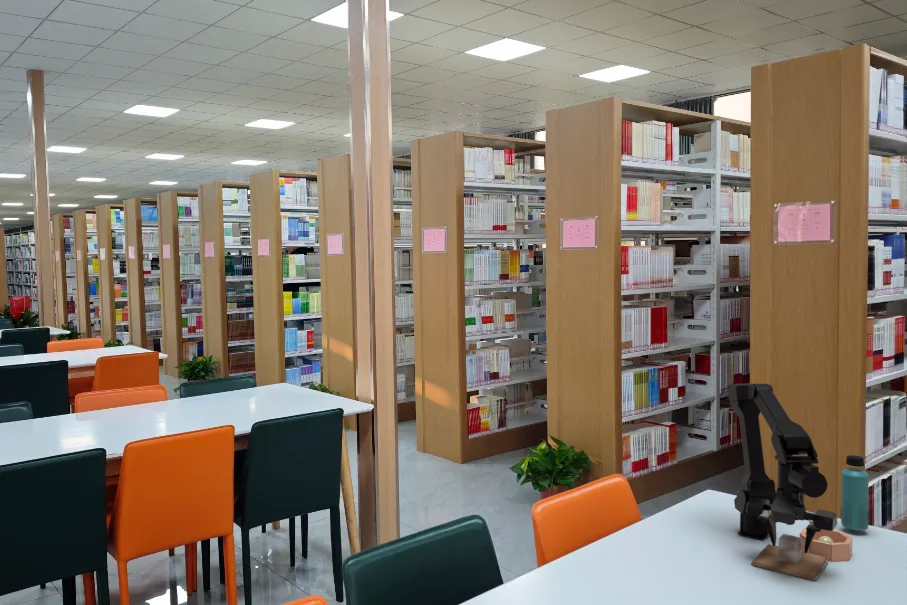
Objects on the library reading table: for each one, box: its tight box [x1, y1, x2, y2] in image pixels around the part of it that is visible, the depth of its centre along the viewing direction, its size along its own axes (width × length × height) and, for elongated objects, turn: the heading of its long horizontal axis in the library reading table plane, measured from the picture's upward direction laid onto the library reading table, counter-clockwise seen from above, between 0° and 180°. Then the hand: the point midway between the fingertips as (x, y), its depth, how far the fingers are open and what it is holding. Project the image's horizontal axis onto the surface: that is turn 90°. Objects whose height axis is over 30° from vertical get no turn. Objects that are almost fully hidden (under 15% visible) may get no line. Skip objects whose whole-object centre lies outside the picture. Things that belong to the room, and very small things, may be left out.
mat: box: [750, 560, 829, 582], centre depth 166 cm, size 14×12×1 cm
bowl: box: [799, 527, 853, 562], centre depth 173 cm, size 11×11×4 cm
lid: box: [752, 533, 827, 581], centre depth 166 cm, size 13×13×6 cm
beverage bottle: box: [840, 454, 870, 531], centre depth 185 cm, size 6×7×20 cm
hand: (789, 549), depth 166 cm, fingers open, 7 cm apart
